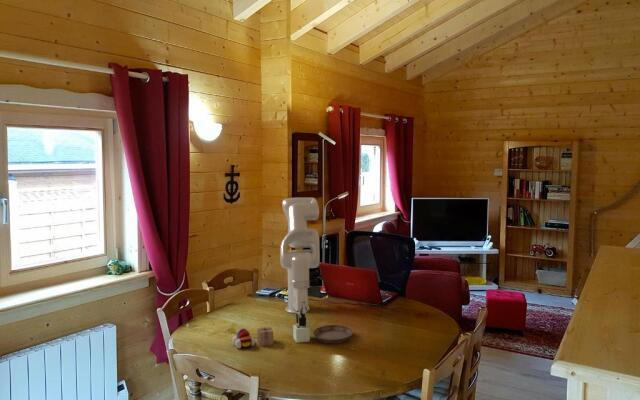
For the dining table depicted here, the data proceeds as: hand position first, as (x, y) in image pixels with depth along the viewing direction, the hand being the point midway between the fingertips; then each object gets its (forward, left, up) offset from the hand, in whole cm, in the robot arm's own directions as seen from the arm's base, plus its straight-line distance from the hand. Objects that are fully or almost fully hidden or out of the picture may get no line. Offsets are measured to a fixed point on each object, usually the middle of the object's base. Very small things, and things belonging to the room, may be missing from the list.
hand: (301, 323), depth 233 cm
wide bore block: (0, 0, -7) cm, 7 cm away
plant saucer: (+2, +14, -8) cm, 16 cm away
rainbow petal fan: (-1, -25, -8) cm, 27 cm away
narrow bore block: (-1, -16, -7) cm, 18 cm away
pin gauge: (0, 0, -7) cm, 7 cm away
